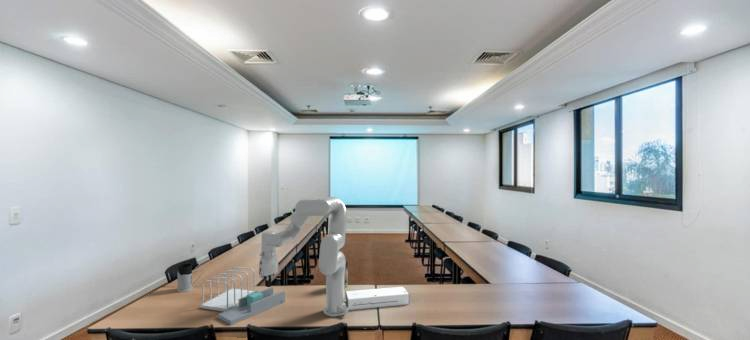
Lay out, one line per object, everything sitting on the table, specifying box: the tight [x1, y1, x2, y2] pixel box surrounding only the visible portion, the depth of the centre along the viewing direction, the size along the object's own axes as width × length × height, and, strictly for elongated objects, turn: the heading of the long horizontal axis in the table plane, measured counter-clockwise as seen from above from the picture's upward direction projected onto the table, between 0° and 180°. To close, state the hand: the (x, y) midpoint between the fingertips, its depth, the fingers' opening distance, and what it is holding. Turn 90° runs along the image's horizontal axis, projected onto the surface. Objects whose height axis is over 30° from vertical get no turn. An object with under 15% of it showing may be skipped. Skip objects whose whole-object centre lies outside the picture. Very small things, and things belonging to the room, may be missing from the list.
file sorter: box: [200, 266, 256, 312], centre depth 186 cm, size 25×17×16 cm
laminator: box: [344, 286, 410, 311], centre depth 183 cm, size 34×12×6 cm, turn 101°
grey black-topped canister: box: [176, 263, 204, 293], centre depth 204 cm, size 9×14×15 cm, turn 118°
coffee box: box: [344, 260, 349, 289], centre depth 204 cm, size 9×6×16 cm
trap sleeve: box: [217, 286, 286, 326], centre depth 174 cm, size 12×32×6 cm, turn 144°
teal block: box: [247, 290, 263, 307], centre depth 175 cm, size 6×6×6 cm
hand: (268, 286), depth 183 cm, fingers closed
